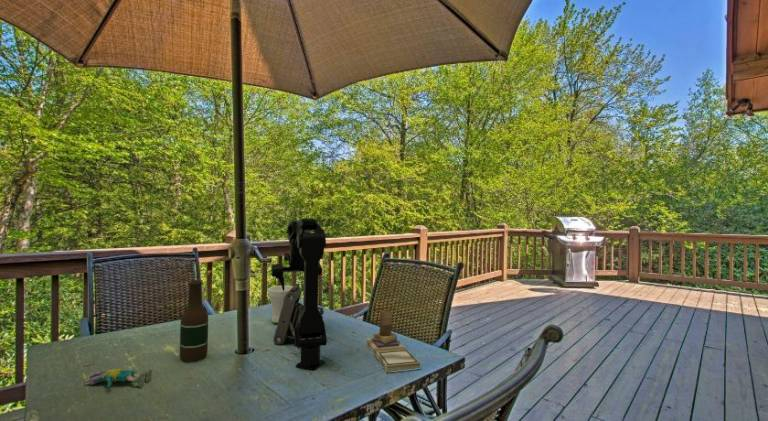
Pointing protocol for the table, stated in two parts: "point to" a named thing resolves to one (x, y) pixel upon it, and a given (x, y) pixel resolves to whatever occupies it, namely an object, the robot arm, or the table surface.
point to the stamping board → (394, 357)
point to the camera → (290, 316)
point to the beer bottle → (194, 326)
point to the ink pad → (385, 345)
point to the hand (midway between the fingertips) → (295, 289)
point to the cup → (277, 300)
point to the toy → (119, 376)
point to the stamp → (385, 329)
